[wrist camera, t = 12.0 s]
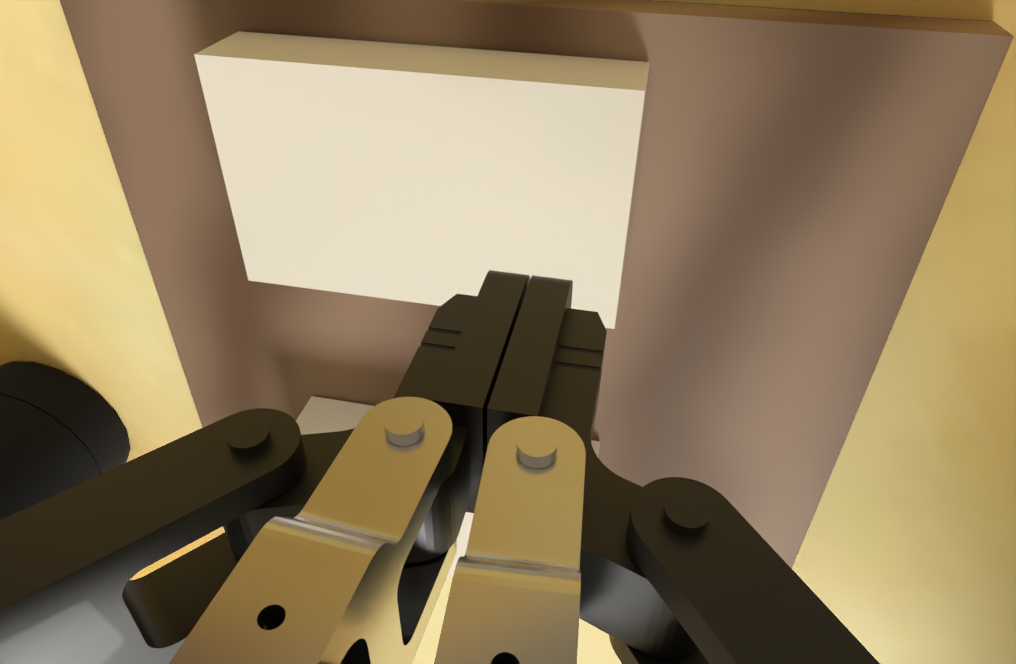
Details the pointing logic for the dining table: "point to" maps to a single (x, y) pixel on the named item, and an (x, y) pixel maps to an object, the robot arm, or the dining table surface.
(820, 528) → the dining table surface
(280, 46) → the tile terracotta
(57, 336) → the dining table surface
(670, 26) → the board
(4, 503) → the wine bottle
